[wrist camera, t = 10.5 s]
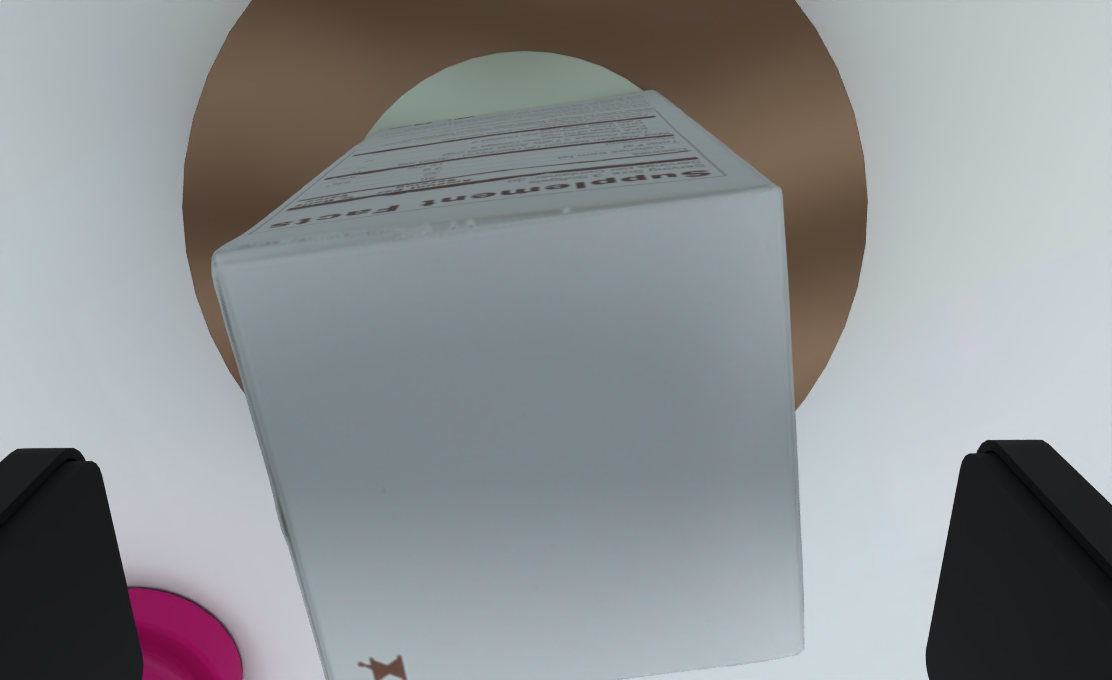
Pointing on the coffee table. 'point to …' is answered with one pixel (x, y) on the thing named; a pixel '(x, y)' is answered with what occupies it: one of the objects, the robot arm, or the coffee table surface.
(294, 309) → the supplement box
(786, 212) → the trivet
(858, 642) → the coffee table surface
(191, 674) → the pepper mill
